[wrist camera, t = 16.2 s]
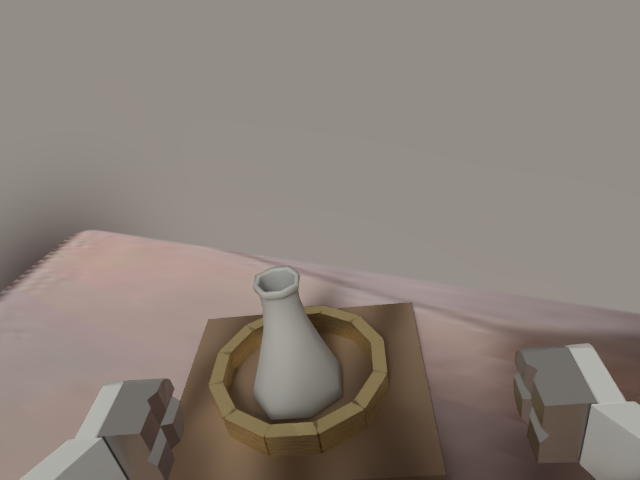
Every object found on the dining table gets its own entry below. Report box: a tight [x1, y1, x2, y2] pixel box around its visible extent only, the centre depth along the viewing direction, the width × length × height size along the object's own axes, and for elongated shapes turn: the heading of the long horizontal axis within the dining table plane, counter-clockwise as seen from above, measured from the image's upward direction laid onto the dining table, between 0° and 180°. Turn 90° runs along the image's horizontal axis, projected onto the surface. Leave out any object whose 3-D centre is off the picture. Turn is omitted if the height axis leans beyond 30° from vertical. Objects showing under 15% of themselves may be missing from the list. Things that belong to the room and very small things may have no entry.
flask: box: [253, 266, 343, 420], centre depth 36 cm, size 7×7×10 cm
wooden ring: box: [209, 305, 389, 457], centre depth 38 cm, size 13×13×2 cm
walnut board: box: [168, 303, 446, 480], centre depth 39 cm, size 19×17×1 cm
